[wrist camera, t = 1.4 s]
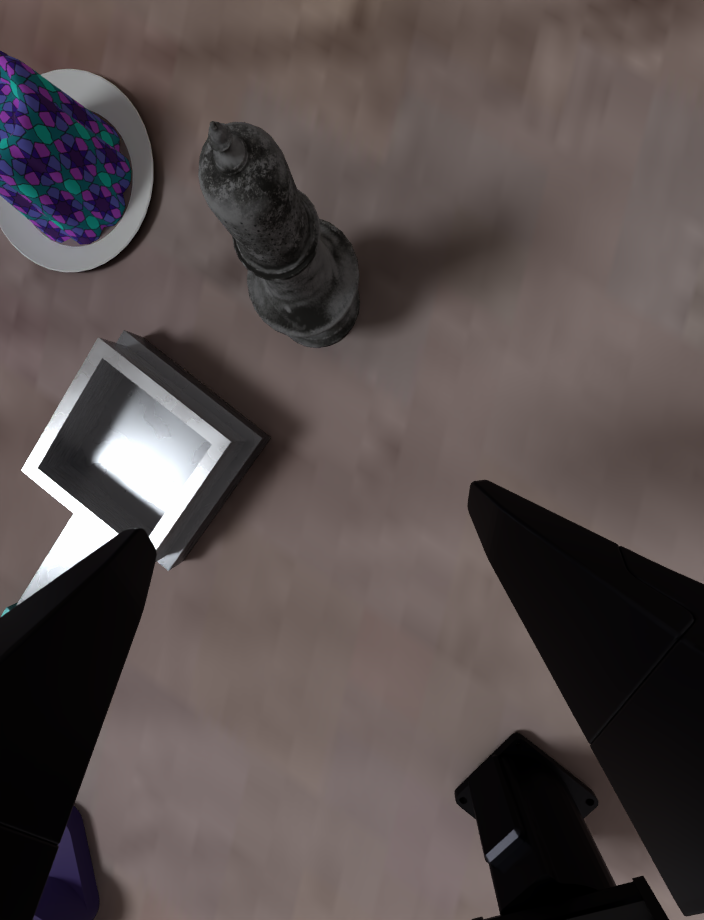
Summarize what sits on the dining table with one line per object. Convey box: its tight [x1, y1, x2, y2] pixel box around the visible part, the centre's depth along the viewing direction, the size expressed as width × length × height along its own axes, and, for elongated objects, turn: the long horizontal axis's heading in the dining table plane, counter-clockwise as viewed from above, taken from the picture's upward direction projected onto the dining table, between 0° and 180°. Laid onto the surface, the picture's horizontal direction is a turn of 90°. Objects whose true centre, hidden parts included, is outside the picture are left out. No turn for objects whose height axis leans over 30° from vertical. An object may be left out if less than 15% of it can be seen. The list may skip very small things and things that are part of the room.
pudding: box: [0, 51, 153, 272], centre depth 19 cm, size 12×12×5 cm
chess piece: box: [198, 121, 360, 348], centre depth 14 cm, size 6×6×12 cm
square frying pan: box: [1, 330, 271, 617], centre depth 22 cm, size 11×29×4 cm, turn 143°
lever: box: [33, 806, 99, 920], centre depth 25 cm, size 12×6×3 cm, turn 177°
